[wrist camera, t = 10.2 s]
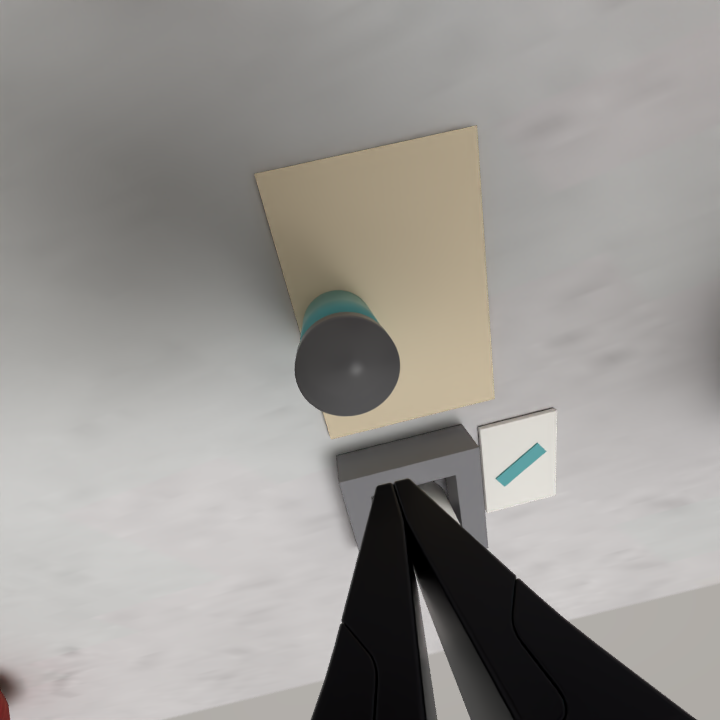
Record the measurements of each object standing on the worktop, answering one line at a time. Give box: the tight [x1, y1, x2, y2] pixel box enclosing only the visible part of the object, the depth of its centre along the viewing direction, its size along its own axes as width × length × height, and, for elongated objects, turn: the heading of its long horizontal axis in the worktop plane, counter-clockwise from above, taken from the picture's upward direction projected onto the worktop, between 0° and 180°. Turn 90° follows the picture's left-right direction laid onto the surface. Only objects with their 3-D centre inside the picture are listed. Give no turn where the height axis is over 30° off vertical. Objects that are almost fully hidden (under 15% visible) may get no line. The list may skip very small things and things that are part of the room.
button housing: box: [337, 425, 488, 550], centre depth 21 cm, size 8×8×2 cm
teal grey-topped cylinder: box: [295, 290, 400, 417], centre depth 15 cm, size 4×4×6 cm
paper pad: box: [254, 125, 495, 439], centre depth 18 cm, size 10×14×1 cm
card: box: [478, 408, 557, 513], centre depth 22 cm, size 5×7×1 cm
